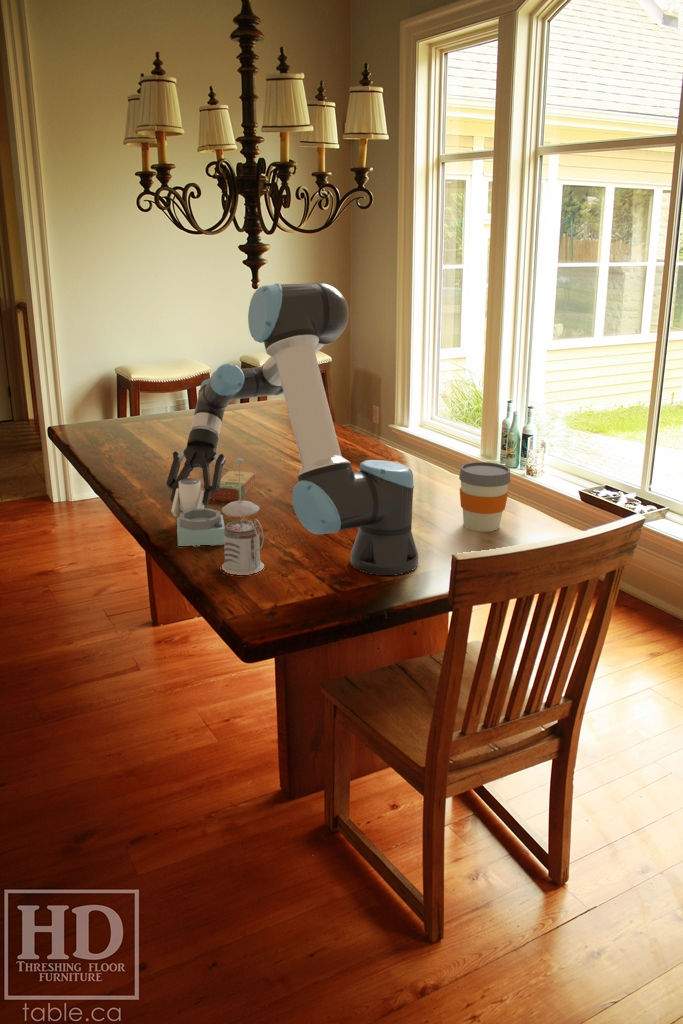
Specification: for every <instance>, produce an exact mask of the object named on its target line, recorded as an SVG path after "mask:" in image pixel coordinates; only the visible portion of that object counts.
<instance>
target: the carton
mask: <svg viewBox="0 0 683 1024" xmlns="http://www.w3.org/2000/svg"><path fill="white" fill-rule="evenodd" d="M255 482H256V481H255V473H254V472H250V471H240V484H241V500H242V499H243V498H244V497H245V496H246V494H248V493H249V492H250V491H251V489H252V488H253V487H254V486H255V484H256V483H255ZM210 499H214V500H213V501H215V500H222V501H221V502H234V501H239V500H240V487H239V470H238V471H237V470H235V471H234V470H227V471H225V473H224V474H223V475H221V480H220V487H219V492H217V493H215V492H213V493H211V495H210ZM210 499H209V500H210Z"/></svg>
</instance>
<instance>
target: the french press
mask: <svg viewBox="0 0 683 1024" xmlns="http://www.w3.org/2000/svg"><path fill="white" fill-rule="evenodd" d="M234 464H235V465H238V471H239V487H240V500H239V501H234V502H231V501H229V503H227V504H225V506H224V505H223V507H222V508H221V512H222V513H223V514H224V515H226V516H228V517H235V518H236V517H238V518H240V520H234V521H231V522H228V523H227V524H226V525H224V527H225V532H224V543H225V545H224V546H223V547H224V548H223V549H224V553H223V554H224V562H223V563H222V565H221V566H222V569H223V570H224V571H225V572H227V573H230V574H237V575H249V574H253V573H257V572H259V571H261V570H262V569H263V568H264V566H265V564H264V563H263V562H262V561H261V549H262V548H263V546H264V542H265V540H264V539H265V538H264V537H265V536H264V530H263V527H262V524H261V522H260V521H259V520H258V518H254V519H253V520H254V522H253V521H251V520H243V519H242V518H244V517H249V516H253V515H255V514H257V513H258V512H259V511H260V506H259V505H257V504H255V503H253V502H252V501H250V500H249V501H248V500H242V499H241V484H240V472H241V465H244V464H245V462H244V459H243V458H240V457H238V458H236V459H235V460H234ZM256 522H257V523H256ZM258 525H259V526H258ZM258 527H260V529H261V533H262V542H260V531H259V529H258ZM252 535H255V536H253V537H250V538H249V536H252ZM242 537H248V538H242ZM252 541H253V542H252ZM260 543H261V546H260ZM252 546H253V547H252ZM264 569H265V568H264ZM264 569H263V570H264ZM261 572H262V571H261ZM259 573H260V572H259ZM257 574H258V573H257ZM249 576H250V575H249Z"/></svg>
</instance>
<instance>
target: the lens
mask: <svg viewBox="0 0 683 1024" xmlns="http://www.w3.org/2000/svg"><path fill="white" fill-rule="evenodd" d="M201 490H202V481H201V479H198V478H194V477H190V478H189V477H188V478H186V479H182V480H180V481H179V499H180V506H179V514H180V513H182V512H184V511H187V510H190V509H197V506H198V501H199V497H200V492H201Z"/></svg>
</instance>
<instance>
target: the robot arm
mask: <svg viewBox="0 0 683 1024" xmlns="http://www.w3.org/2000/svg"><path fill="white" fill-rule="evenodd" d="M348 305H349V304H348V303H347V300H346V299H345V297H344V295H343V294H342V292H341V291H339V290H338V289H337V288H335V287H334V286H332V285H330V284H328V283H323V282H311V283H309V282H308V283H283V284H282V283H275V284H268V285H267V284H266V285H262V286H259V287H258V288H257V289H255V291H254V293H253V294H252V297H251V299H250V303H249V306H248V313H247V314H248V315H247V319H248V320H247V322H248V330H249V334H250V336H251V337H252V338H253V340H254V341H255V342H257V343H261V344H262V343H263V344H264V349H265V353H266V354H267V355H268V356H269V358H268V359H267V360H266V361H265V362H264V363H263V364H262V365H261V366H259V367H257V366H256V367H255V366H254V367H247V368H240V367H239V366H238V365H234V364H232V363H229V362H228V363H224V364H221V365H220V366H218V368H216V370H215V371H214V372H212V375H211V377H209V378H207V379H204V380H203V381H202V382H201V385H200V387H199V390H198V392H197V395H198V396H197V401H196V405H195V410H194V413H193V417H192V421H191V425H190V431H189V434H188V438H187V442H186V447H185V449H184V450H183V451H180V452H177V451H175V450H174V451H173V453H172V462H171V466H170V470H169V474H168V477H167V480H166V483H165V484H166V486H167V487H168V490H171V495H170V502H171V503H172V506H171V510H170V513H171V514H172V516H173V517H176V518H177V517H178V514H179V511H180V499H179V481H180V480H182V479H186V478H189V476H190V474H191V472H193V470H194V469H196V468H200V469H202V476H203V477H202V479H203V488H204V489H201V492H200V497H199V501H198V506H197V509H199V508H205V506H208V505H209V503H210V495H211V493H213V492H215V493H217V492H219V487H220V480H221V477H222V473H223V467H224V465H225V463H226V460H227V459H226V458H225V455H224V454H223V453H220V454H219V453H217V452H216V451H217V447H218V443H219V437H220V434H221V429H222V424H223V419H224V415H225V410H226V408H227V407H228V406H229V405H230V403H231V402H232V401H233V400H240V399H251V398H258V397H259V398H260V397H267V396H269V397H270V396H279V395H282V394H283V396H284V399H285V403H286V407H287V410H288V415H289V419H290V423H291V427H292V430H293V432H292V433H293V435H294V439H295V443H296V448H297V451H298V456H299V458H300V462H301V467H300V470H299V471H298V474H297V475H296V477H297V480H298V482H297V483H296V484H295V485H294V486H293V488H292V492H291V494H292V498H291V500H292V502H291V503H292V507H293V509H294V512H295V514H296V518H297V519H298V521H299V523H301V525H302V526H303V527H304V528H305V529H306V530H307V531H309V533H311V534H315V535H324V534H336V533H337V532H341V531H345V530H351V529H355V528H358V531H357V534H356V536H355V539H354V543H353V546H352V548H351V551H350V564H352V565H353V566H354V567H355V568H357V569H359V570H361V571H364V572H367V573H372V574H377V575H376V576H380V575H393V576H396V575H395V574H401V573H405V572H408V571H411V570H412V569H414V568H415V567H416V566H417V565H419V553H418V549H417V546H416V543H415V539H414V535H413V533H412V527H413V526H412V523H413V522H412V521H413V501H414V500H413V498H414V497H413V496H414V489H415V486H414V474H413V471H412V469H411V468H410V467H408V466H407V465H404V464H402V463H399V462H395V461H391V460H390V461H389V460H383V459H382V460H380V459H367V460H366V459H365V460H363V461H362V462H360V463H359V464H360V465H359V467H358V468H359V471H354V470H353V467H352V464H351V461H350V460H348V459H346V458H345V457H343V456H342V452H341V448H340V445H339V440H338V436H337V433H336V430H335V429H336V428H335V425H334V421H333V417H332V413H331V409H330V406H329V402H328V398H327V394H326V389H325V387H324V382H323V378H322V375H321V371H320V366H319V363H318V358H317V355H316V354H317V353H318V352H319V351H320V350H321V349H322V348H323V347H325V346H327V345H332V344H333V343H334V342H336V340H337V339H339V337H340V336H341V335H342V334H343V333H344V332H345V330H346V328H347V326H348V323H349V318H350V312H349V309H350V308H349V306H348ZM184 458H185V459H186V460H185V462H184V464H183V467H182V469H181V471H180V468H181V463H182V462H183V459H184ZM213 461H215V464H214V471H213V477H212V482H211V475H210V464H212V463H213ZM179 471H180V473H179ZM352 565H351V566H352ZM353 566H352V567H353ZM354 567H353V568H354ZM417 567H418V566H417ZM417 567H416V568H417ZM355 568H354V569H355ZM416 568H415V569H416ZM357 569H356V570H357ZM415 569H414V570H415ZM359 570H358V571H359ZM361 571H360V572H361ZM364 572H363V573H364ZM411 572H412V571H411ZM367 573H366V574H367ZM408 573H409V572H408ZM372 574H371V575H372ZM405 574H406V573H405ZM401 575H402V574H401Z"/></svg>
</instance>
